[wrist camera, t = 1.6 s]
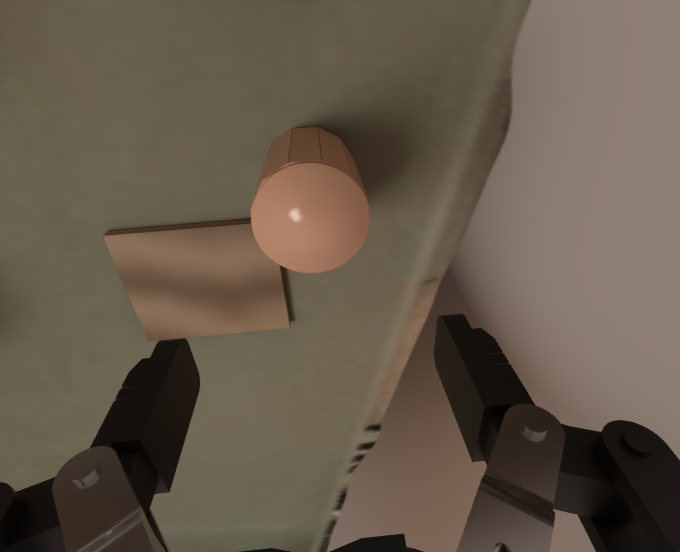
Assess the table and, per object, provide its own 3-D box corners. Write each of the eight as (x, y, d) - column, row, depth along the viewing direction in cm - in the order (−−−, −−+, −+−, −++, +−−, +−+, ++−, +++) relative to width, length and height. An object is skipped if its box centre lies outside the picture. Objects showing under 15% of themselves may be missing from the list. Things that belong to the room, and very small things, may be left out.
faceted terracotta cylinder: (257, 131, 25) (240, 169, 18) (352, 124, 25) (369, 159, 19) (271, 218, 29) (261, 277, 22) (355, 211, 29) (370, 267, 22)
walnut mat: (107, 230, 28) (102, 236, 27) (272, 217, 28) (272, 221, 28) (151, 334, 34) (148, 340, 33) (290, 321, 34) (289, 327, 33)
